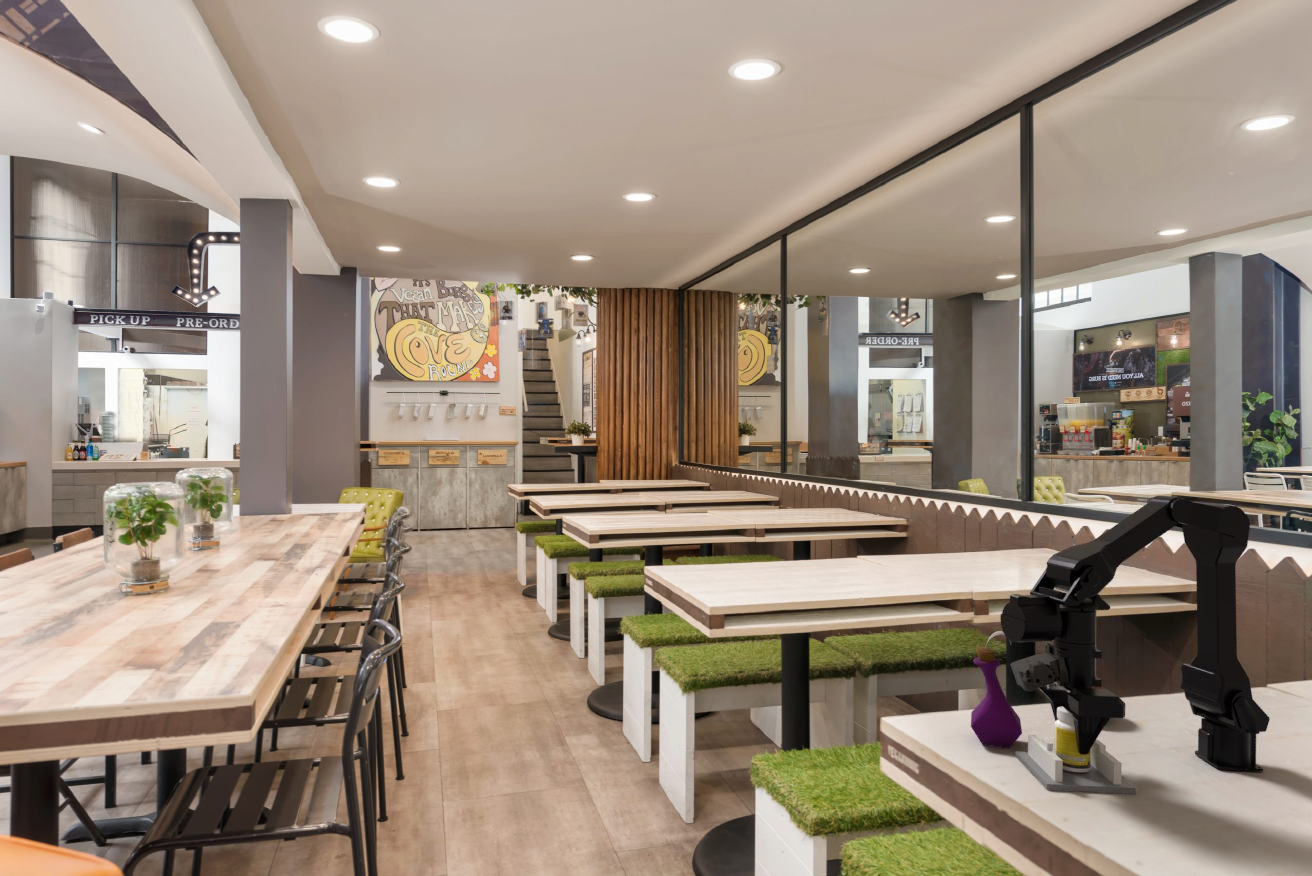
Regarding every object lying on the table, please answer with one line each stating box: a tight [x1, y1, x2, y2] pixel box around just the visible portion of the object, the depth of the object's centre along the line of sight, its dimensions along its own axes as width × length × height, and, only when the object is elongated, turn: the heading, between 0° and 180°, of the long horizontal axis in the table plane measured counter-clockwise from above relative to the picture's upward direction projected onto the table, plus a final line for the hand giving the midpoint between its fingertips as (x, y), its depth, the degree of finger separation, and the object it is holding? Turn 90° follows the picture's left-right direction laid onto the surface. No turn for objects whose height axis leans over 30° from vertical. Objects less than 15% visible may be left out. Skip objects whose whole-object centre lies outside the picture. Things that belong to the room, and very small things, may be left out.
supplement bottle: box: [1053, 706, 1091, 772], centre depth 119 cm, size 5×5×8 cm
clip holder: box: [1015, 734, 1137, 795], centre depth 119 cm, size 12×12×5 cm
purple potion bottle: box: [970, 630, 1023, 749], centre depth 131 cm, size 8×8×18 cm
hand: (1073, 745), depth 119 cm, fingers open, 6 cm apart
